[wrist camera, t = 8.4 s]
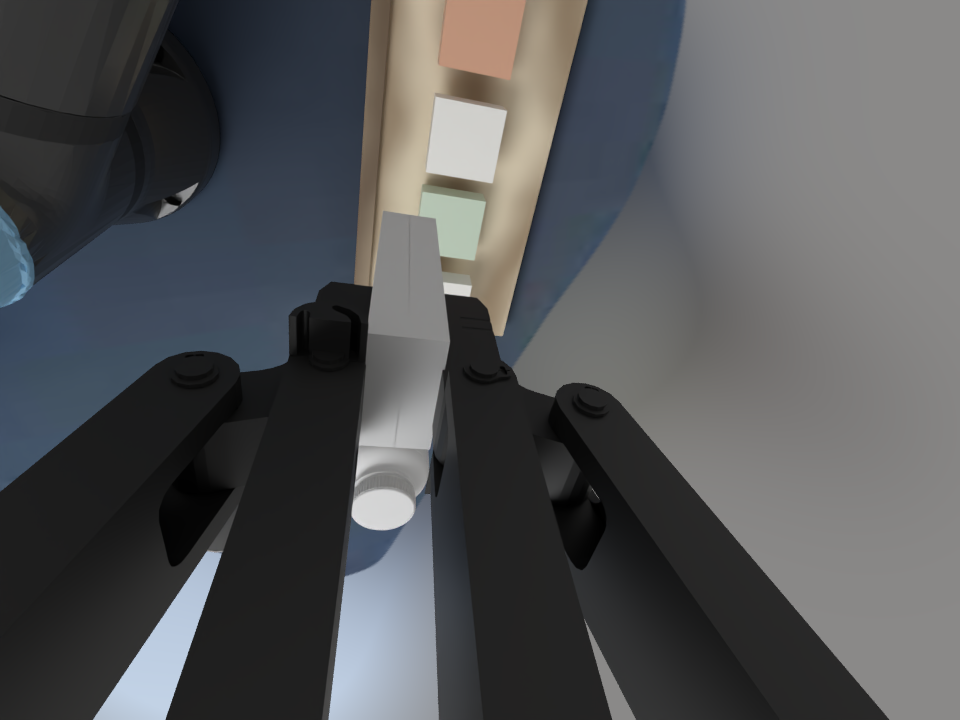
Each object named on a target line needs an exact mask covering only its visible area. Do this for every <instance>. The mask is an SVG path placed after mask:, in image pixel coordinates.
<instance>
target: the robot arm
mask: <svg viewBox="0 0 960 720" xmlns="http://www.w3.org/2000/svg"><path fill="white" fill-rule="evenodd" d="M178 2H179V0H0V308H1V307H4V306H7V305H9V304H12V303H14V302H16V301H17V300H20V299H21V298H23V297H24V296H25V294H26V292H27V291H28V290H29V289H30V288H31V287H32V286H33V285H34V284H35V283H37V282H38V281H39V280H41V279H42V278H43V277H45V276H46V275H47V274H49V273H50V272H51V271H53V270H54V269H55V268H57V267H58V266H59V265H60V264H62V263H63V262H64V261H66V260H67V259H68V258H70V257H71V256H72V255H74V254H75V253H76V252H78V251H79V250H80V249H82V248H83V247H84V246H86V245H87V244H88V243H90V242H91V241H92V240H94V239H95V238H96V237H98V236H99V235H100V234H101V233H103V232H104V231H105V230H107V229H108V228H109V227H111V226H112V225H120V224H134V223H144V222H149V221H153V220H157V219H160V218H163V217H166V216H168V215H170V214H172V213H174V212H176V211H178V210H180V209H181V208H182V207H184V206H185V205H186V204H187V203H189V202H190V201H191V200H192V199H193V198H194V197H195V196H197V195H198V194H199V193H200V192H201V191H202V190H203V188H204V187H205V186H206V184H207V183H208V181H209V180H210V178H211V176H212V174H213V172H214V169H215V167H216V163H217V160H218V155H219V148H220V128H219V121H218V115H217V111H216V107H215V104H214V101H213V98H212V95H211V92H210V90H209V88H208V85H207V83H206V81H205V79H204V77H203V75H202V73H201V72H200V70H199V68H198V67H197V65H196V63H195V62H194V60H193V59H192V57H191V56H190V55H189V53H188V52H187V51H186V49H185V48H184V47H183V46H182V44H181V43H180V42H179V41H178V40H177V39H176V37H175V36H174V35H173V34H172V33H171V32H170V31H169V30H168V29H167V28H168V26H169V24H170V21H171V19H172V16H173V14H174V11H175V9H176V7H177V4H178ZM432 435H433V454H432V459H431V464H430V469H429V475H428V480H427V485H426V490H425V494H430V493H431V516H432V540H433V541H432V542H433V568H434V569H433V570H434V596H435V624H436V649H437V650H436V651H437V677H438V704H439V720H612V718H611V714H610V710H609V707H608V703H607V700H606V696H605V692H604V689H603V686H602V682H601V678H600V675H599V671H598V667H597V664H596V660H595V657H594V653H593V649H592V646H591V642H590V639H589V635H588V632H587V628H586V624H585V621H586V623H587V625H588V627H589V629H590V631H591V632H592V634H593V636H594V638H595V640H596V642H597V644H598V646H599V648H600V650H601V652H602V654H603V656H604V658H605V660H606V662H607V664H608V666H609V668H610V669H611V671H612V673H613V675H614V677H615V679H616V681H617V683H618V685H619V687H620V689H621V691H622V693H623V695H624V697H625V699H626V701H627V703H628V704H629V706H630V708H631V710H632V712H633V714H634V716H635V718H636V720H889V719H888V718H887V716H886V715H885V714H884V713H883V712H882V710H881V709H880V708H879V707H878V706H877V705H876V703H875V702H874V701H873V700H872V699H871V698H870V697H869V695H868V694H867V693H866V692H865V691H864V689H863V688H862V687H861V686H860V685H859V683H858V682H857V681H856V680H855V679H854V678H853V676H852V675H851V674H850V673H849V672H848V671H847V670H846V668H845V667H844V666H843V665H842V663H841V662H840V661H839V660H838V659H837V658H836V657H835V656H834V654H833V653H832V652H831V650H830V649H829V648H828V647H827V646H826V645H825V644H824V642H823V641H822V640H821V639H820V638H819V636H818V635H817V634H816V633H815V632H814V631H813V629H812V628H811V627H810V626H809V625H808V623H807V622H806V621H805V620H804V619H803V618H802V616H801V615H800V614H799V613H798V612H797V610H795V608H794V607H793V606H792V605H791V604H790V602H789V601H788V600H787V599H786V598H785V596H784V595H783V594H782V593H781V592H780V590H779V589H778V588H777V587H776V586H775V585H774V583H773V582H772V581H771V580H770V579H769V578H768V576H767V575H766V574H765V573H764V572H763V570H762V569H761V568H760V567H759V566H758V565H757V563H756V562H755V561H754V560H753V559H752V558H751V556H750V555H749V554H748V553H747V552H746V551H745V549H744V548H743V547H742V546H741V545H740V544H739V543H738V541H737V540H736V539H735V538H734V536H733V535H732V534H731V533H730V532H729V530H728V529H727V528H726V527H725V526H724V525H723V523H722V522H721V521H720V520H719V519H718V518H717V516H716V515H715V514H714V513H713V512H712V511H711V509H710V508H709V507H708V506H707V505H706V503H705V502H704V501H703V500H702V499H701V498H700V496H699V495H698V494H697V493H696V492H695V490H694V489H693V488H692V487H691V486H690V485H689V483H688V482H687V481H686V480H685V479H684V478H683V476H682V475H681V474H680V473H679V472H678V470H677V469H676V468H675V467H674V466H673V465H672V463H671V462H670V461H669V460H668V459H667V458H666V456H665V455H664V454H663V453H662V452H661V451H660V449H659V448H658V447H657V446H656V445H655V443H654V442H653V441H652V440H651V439H650V438H649V436H647V434H646V433H645V432H644V431H643V429H642V428H641V427H640V426H639V425H638V424H637V422H636V421H635V420H634V419H633V418H632V416H631V415H630V414H629V413H628V412H627V411H626V409H625V408H624V407H623V406H622V405H621V403H620V402H619V401H618V400H617V399H615V398H614V397H613V396H612V395H611V394H610V393H608V392H606V391H604V390H602V389H600V388H598V387H596V386H592V385H589V384H584V383H571V384H566V385H563V386H562V387H561V388H560V389H559V390H558V391H557V393H556V396H555V398H554V397H550V396H547V395H544V394H540V393H537V392H534V391H531V390H528V389H526V388H524V387H522V386H520V385H519V384H518V381H517V377H516V375H515V373H514V372H513V370H512V368H511V367H509V366H508V365H507V364H506V363H504V362H503V361H501V360H500V356H499V352H498V348H497V344H496V340H495V336H494V332H493V328H492V324H491V322H490V316H489V312H488V309H487V308H486V307H485V305H484V304H483V303H482V302H481V301H480V300H479V299H478V298H475V297H467V296H459V295H451V294H444V285H443V277H442V268H441V259H440V251H439V242H438V234H437V225H436V219H435V218H428V217H422V216H415V215H408V214H402V213H395V212H388V211H383V215H382V222H381V229H380V237H379V244H378V251H377V259H376V266H375V273H374V281H373V287H372V286H363V285H355V284H347V283H338V282H330V283H329V284H328V285H326V286H325V287H323V288H322V289H321V290H319V293H318V296H317V299H316V302H312V303H307V304H304V305H302V306H299V307H297V308H295V309H294V310H293V311H292V312H291V314H290V315H289V359H288V362H287V363H285V364H283V365H280V366H277V367H274V368H271V369H265V370H259V371H250V372H240V369H239V365H238V364H237V363H236V362H235V361H234V360H233V359H232V358H231V357H228V356H225V355H223V354H220V353H216V352H207V351H196V352H185V353H181V354H178V355H174V356H171V357H168V358H166V359H164V360H163V361H161V362H159V363H158V364H156V365H154V366H153V367H152V368H151V369H150V370H148V371H147V372H146V373H145V374H143V375H142V376H141V377H140V378H139V379H137V380H136V381H135V382H134V383H133V384H131V385H130V386H129V387H128V388H126V389H125V390H124V391H123V392H122V393H120V394H119V395H118V396H117V397H115V398H114V399H113V400H112V401H111V402H109V403H108V404H107V405H106V406H104V407H103V408H102V409H101V410H100V411H98V412H97V413H96V414H95V415H93V416H92V417H91V418H90V419H89V420H87V421H86V422H85V423H84V424H82V425H81V426H80V427H79V428H78V429H76V430H75V431H74V432H73V433H72V434H70V435H69V436H68V437H67V438H65V439H64V440H63V441H62V442H61V443H59V444H58V445H57V446H56V447H54V448H53V449H52V450H51V451H50V452H48V453H47V454H46V455H45V456H43V457H42V458H41V459H40V460H39V461H37V462H36V463H35V464H34V465H32V466H31V467H30V468H29V469H28V470H26V471H25V472H24V473H23V474H21V475H20V476H19V477H18V478H17V479H15V480H14V481H13V482H12V483H11V484H9V485H8V486H7V487H6V488H4V489H3V490H2V491H1V492H0V720H93V719H94V717H95V715H96V714H97V713H98V711H99V710H100V708H101V707H102V705H103V704H104V702H105V701H106V699H107V698H108V696H109V695H110V693H111V692H112V690H113V689H114V688H115V686H116V685H117V683H118V682H119V680H120V679H121V677H122V676H123V674H124V673H125V671H126V670H127V668H128V667H129V665H130V664H131V662H132V661H133V659H134V658H135V657H136V655H137V654H138V652H139V651H140V649H141V648H142V646H143V645H144V643H145V642H146V640H147V639H148V637H149V636H150V634H151V633H152V631H153V630H154V628H155V627H156V625H157V624H158V623H159V621H160V619H161V618H162V617H163V615H164V614H165V612H166V611H167V609H168V608H169V606H170V605H171V603H172V602H173V600H174V599H175V597H176V596H177V594H178V593H179V591H180V590H181V588H182V587H183V585H184V584H185V583H186V581H187V580H188V578H189V577H190V575H191V574H192V572H193V571H194V569H195V568H196V566H197V565H198V563H199V562H200V560H201V559H202V557H203V556H204V554H205V553H206V552H207V550H208V549H209V547H210V546H211V544H212V543H213V541H214V540H215V538H216V537H217V535H218V534H219V532H220V531H221V529H222V528H223V526H224V525H225V523H226V522H227V520H228V519H229V518H230V516H231V515H232V513H233V512H234V510H235V509H236V507H237V506H238V508H237V511H236V514H235V517H234V520H233V523H232V526H231V529H230V532H229V535H228V538H227V541H226V544H225V547H224V549H223V552H222V555H221V558H220V561H219V564H218V567H217V570H216V573H215V576H214V579H213V582H212V585H211V588H210V591H209V593H208V596H207V599H206V602H205V605H204V608H203V611H202V615H201V617H200V620H199V623H198V626H197V629H196V632H195V635H194V638H193V641H192V643H191V646H190V649H189V652H188V655H187V658H186V661H185V664H184V667H183V670H182V673H181V676H180V679H179V681H178V684H177V687H176V690H175V693H174V696H173V699H172V702H171V705H170V708H169V711H168V714H167V717H166V720H328V716H329V708H330V700H331V691H332V682H333V674H334V665H335V656H336V647H337V638H338V629H339V620H340V611H341V603H342V594H343V585H344V577H345V568H346V559H347V550H348V541H349V532H350V524H351V515H352V506H353V497H354V488H355V479H356V470H357V460H358V448H359V445H361V446H378V447H395V448H412V449H429V450H430V446H431V441H432ZM592 488H593V490H594V491H595V493H596V494H597V496H598V497H599V498H598V497H597V496H596V494H595V493H594V491H593V490H592ZM238 504H239V505H238ZM584 619H585V621H584Z"/></svg>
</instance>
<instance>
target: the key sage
mask: <svg viewBox="0 0 960 720" xmlns="http://www.w3.org/2000/svg"><path fill="white" fill-rule="evenodd" d="M485 205H486V200H485V198H484V195H483V194H481V193H475V192H469V191H463V190H456V189H450V188H444V187H438V186H432V185H426V184H422V188H421V196H420V204H419V212H418V216H422V217H428V218H435V219H436V225H437V234H438V242H439V251H440V256H444V257H451V258H459V259H466V260H473V261H474V260H475V255H476V250H477V245H478V240H479V235H480V230H481V225H482V220H483V215H484V210H485Z"/></svg>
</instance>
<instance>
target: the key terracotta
mask: <svg viewBox="0 0 960 720" xmlns="http://www.w3.org/2000/svg"><path fill="white" fill-rule="evenodd" d="M525 3H526V0H445V6H444V14H443V22H442V30H441V38H440V46H439V54H438V62H437V63H438V65H440V66H444V67H449V68H454V69H459V70H463V71H468V72H473V73H478V74H482V75H487V76H492V77H497V78H501V79H506V80H510V79H511V74H512V69H513V64H514V59H515V53H516V48H517V43H518V38H519V33H520V28H521V23H522V18H523V13H524V8H525Z"/></svg>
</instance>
